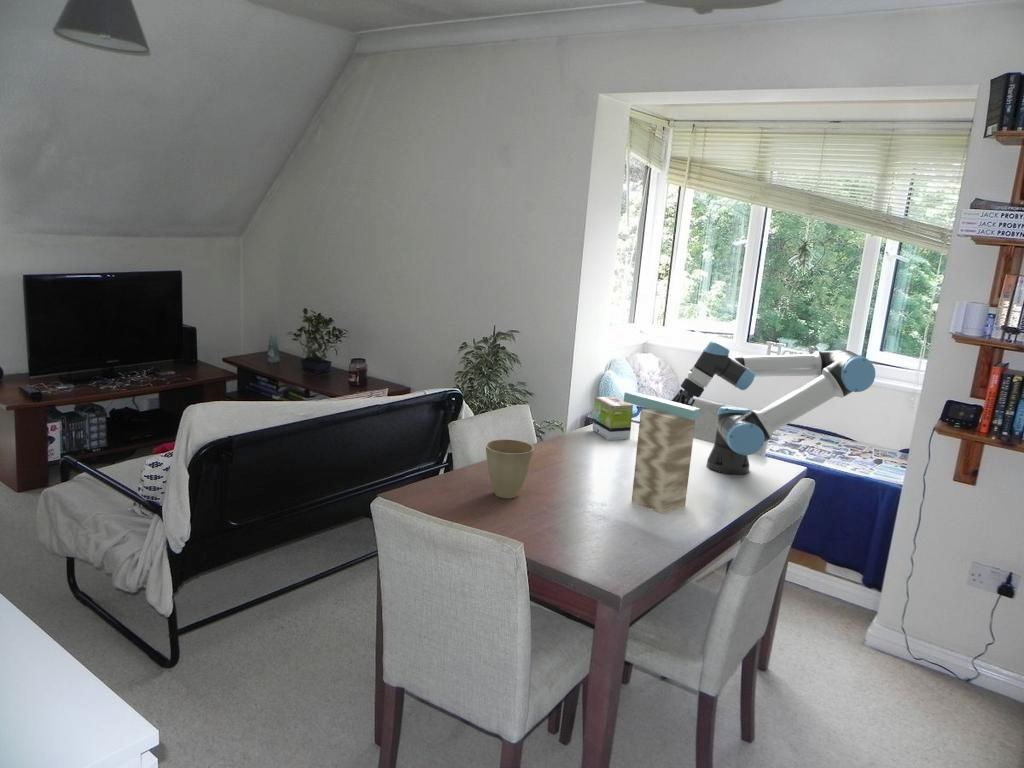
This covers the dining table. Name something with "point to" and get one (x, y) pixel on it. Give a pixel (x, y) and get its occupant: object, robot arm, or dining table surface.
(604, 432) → the tea box
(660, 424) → the wooden stand
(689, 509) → the dining table surface
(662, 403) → the teal block
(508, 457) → the plant pot
